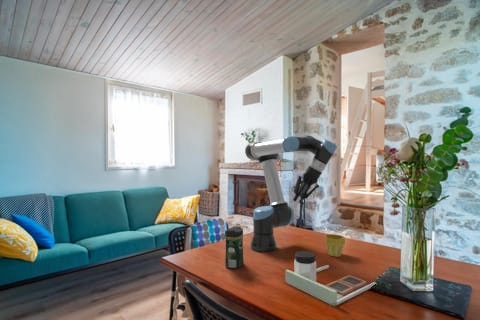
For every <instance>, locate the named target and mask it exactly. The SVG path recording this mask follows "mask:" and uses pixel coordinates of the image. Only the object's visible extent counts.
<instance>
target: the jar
mask: <svg viewBox="0 0 480 320" xmlns="http://www.w3.org/2000/svg"><path fill="white" fill-rule="evenodd" d="M293 262H294V263H293V266H294V267H293V269H294V270H293V272H294V273H297V274H299V275H301V276H304V277H306V278H308V279H310V280H313V281H315V282H317V272H316V269H317V261H316V254H315V253H314V252H312V251H308V250H307V251H304V250H302V251H301V250H300V251H299V250H298V251H297V252H295V254H294V261H293Z"/></svg>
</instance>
